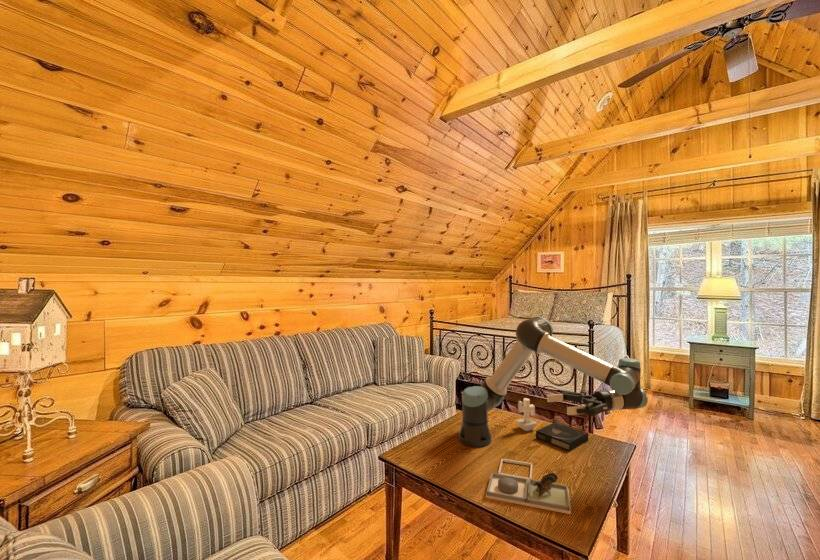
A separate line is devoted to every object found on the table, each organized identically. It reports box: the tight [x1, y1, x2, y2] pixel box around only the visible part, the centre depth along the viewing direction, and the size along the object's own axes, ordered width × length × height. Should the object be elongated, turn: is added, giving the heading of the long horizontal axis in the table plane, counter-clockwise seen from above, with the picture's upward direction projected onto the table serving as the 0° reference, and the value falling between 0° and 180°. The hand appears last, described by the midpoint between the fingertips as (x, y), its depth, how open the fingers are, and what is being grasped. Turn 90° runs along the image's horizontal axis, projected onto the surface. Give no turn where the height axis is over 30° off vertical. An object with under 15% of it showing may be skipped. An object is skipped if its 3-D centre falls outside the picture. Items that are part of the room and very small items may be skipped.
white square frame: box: [497, 458, 533, 482], centre depth 150 cm, size 12×12×1 cm
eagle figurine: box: [531, 472, 559, 497], centre depth 134 cm, size 8×7×9 cm
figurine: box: [515, 397, 538, 432], centre depth 189 cm, size 7×9×15 cm
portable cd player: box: [535, 421, 589, 452], centre depth 177 cm, size 16×17×4 cm
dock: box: [485, 472, 572, 515], centre depth 135 cm, size 27×13×3 cm, turn 70°
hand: (556, 404), depth 145 cm, fingers open, 13 cm apart
